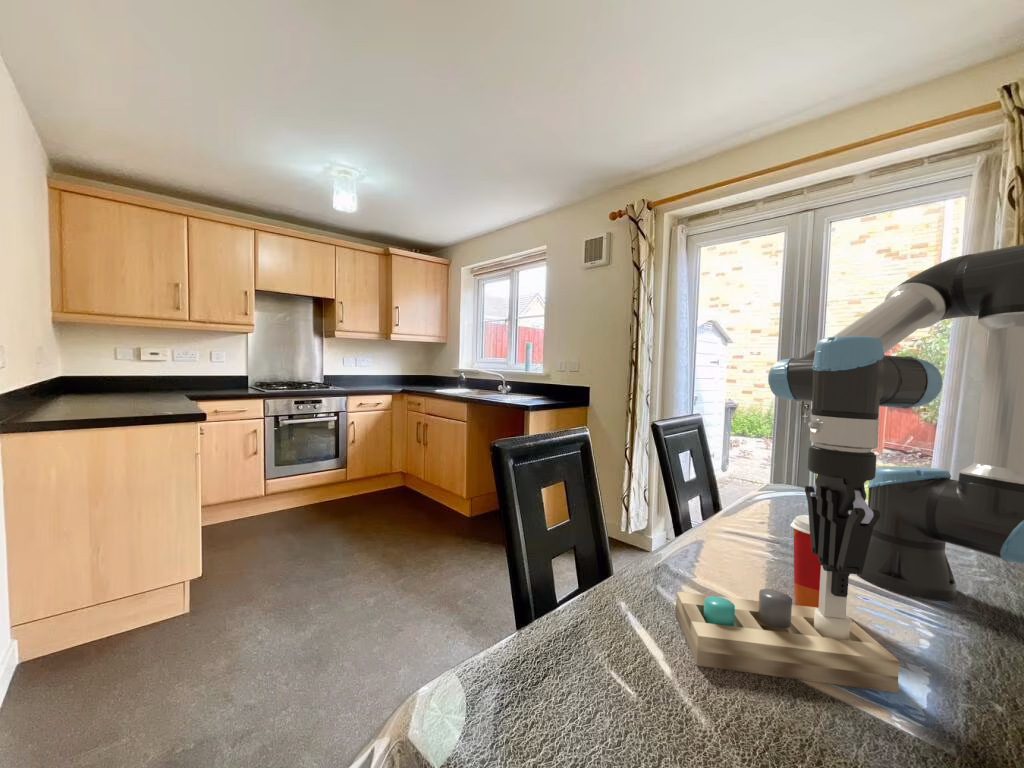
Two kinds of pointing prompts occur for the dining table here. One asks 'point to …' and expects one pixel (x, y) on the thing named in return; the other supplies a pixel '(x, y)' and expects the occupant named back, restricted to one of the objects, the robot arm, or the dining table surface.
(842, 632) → the white rounded cylinder
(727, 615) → the teal button
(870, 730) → the dining table surface
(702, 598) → the wooden button tray
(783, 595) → the gray button
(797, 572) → the coffee cup
